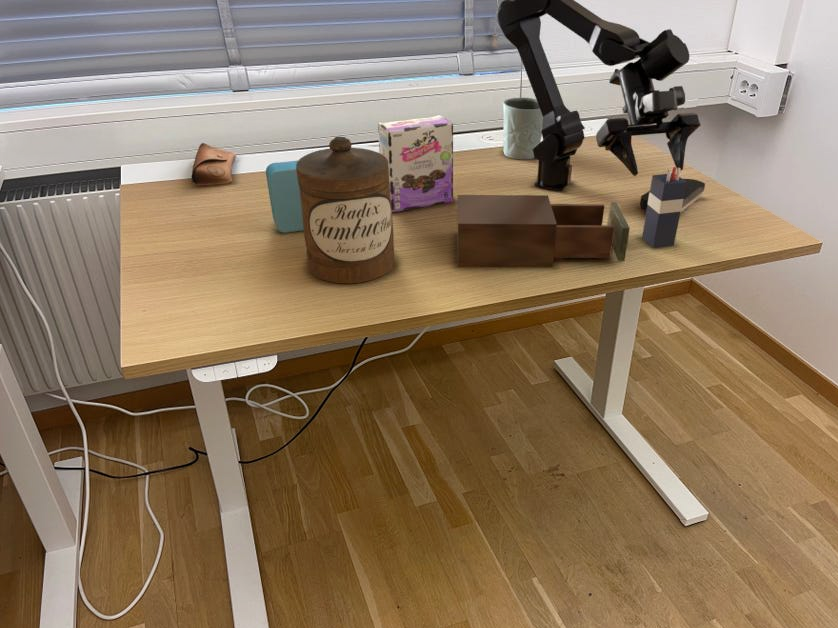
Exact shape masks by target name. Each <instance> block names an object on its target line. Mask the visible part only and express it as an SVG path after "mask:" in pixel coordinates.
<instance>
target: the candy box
mask: <svg viewBox="0 0 838 628" xmlns="http://www.w3.org/2000/svg"><path fill="white" fill-rule="evenodd" d="M377 128H378V129H377V130H378V131H377V133H378V153H380V154H382V155H384V156H385V157H386V158H387V160H388V167H389V183H390V195H391V208H392V213H397V212H403V211H408V210H414V209H419V208H426V207H431V206H436V205H437V206H438V205H442V204H448V203H453V202H454V123H453V122H452V121H451V120H448V119H447V118H445V117H444V116H442V115H436V116H430V117H422V118H414V119H406V120H396V121H389V122H378V123H377Z"/></svg>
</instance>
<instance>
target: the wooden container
mask: <svg viewBox="0 0 838 628" xmlns="http://www.w3.org/2000/svg"><path fill="white" fill-rule="evenodd" d="M328 147H329V148H324V149H320V150H316V151H312V152H310V153H307V154H304V156H302V157H301V158H299V159H298V160H297V161H298V162H297V164H296V172H297V179H298V185H299V189H300V198H301V208H302V218H303V228H304V230H303V237H304V245H305V248H306V257H307V264H308V269H309V272H311V274H313V276H315V277H317V278H318V279H321V280H323V281H327V282H330V283H335V284H359V283H366V282H369V281H373V280H376V279H377V278H381V277H383V276H384V275H386V274H387V273H389V272H390V271H391V270H392V268H394V265H395V243H394V242H395V239H394V222H393V212H392V208H391V195H390V183H389V167H388V160H387V158H386V157H385V156H384V155H382V154H380V153H379V151H375V150H371V149H367V148H360V147H352V142H351V139H349V138H347V137H345V136H335V137H334V138H333V139H331V140H330V141H329V144H328Z"/></svg>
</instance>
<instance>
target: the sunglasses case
mask: <svg viewBox="0 0 838 628" xmlns="http://www.w3.org/2000/svg"><path fill="white" fill-rule="evenodd" d="M236 158H237V154H236V153H233V152H232V151H231V152H230V151H227V150H223V149H220V148H217V147H213V146H212V145H209V144H208V143H205V142H201V143H200V145H199V147H198V150H197V152H196V154H195V157H194V161H193V165H192V169H191V175H190V176H191V177H190V178H191V181H192V183H194V184H195V186H197V187H204V186H205V187H210V186H222V185H227V184H231V183H233V175H232V174H233V173H232V172H233V167H234V163H235V161H236Z"/></svg>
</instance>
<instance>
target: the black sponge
mask: <svg viewBox="0 0 838 628" xmlns="http://www.w3.org/2000/svg"><path fill="white" fill-rule="evenodd" d="M682 179H683V180H685V181H686V182H687V183H686V188H685V193H684V198H683V204H682V209H681V213H683V211H684V210H686V209H687V208H688V207H690V206H691V205H693V203H695V202H696V201H697V200H698V199H700V198H702V196H703V194H704V191H705V188H706V187H705V186H706V183H705V182H704V181H701V180H698V179H693V178H682ZM649 192H650V190H648V191H647V192H645V193H643V194H641V196H640V201H639V208H640V210H641V211H644V212H646V211H647V205H648V198H649Z"/></svg>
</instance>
